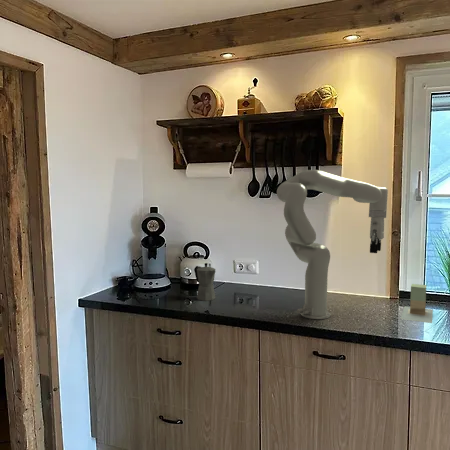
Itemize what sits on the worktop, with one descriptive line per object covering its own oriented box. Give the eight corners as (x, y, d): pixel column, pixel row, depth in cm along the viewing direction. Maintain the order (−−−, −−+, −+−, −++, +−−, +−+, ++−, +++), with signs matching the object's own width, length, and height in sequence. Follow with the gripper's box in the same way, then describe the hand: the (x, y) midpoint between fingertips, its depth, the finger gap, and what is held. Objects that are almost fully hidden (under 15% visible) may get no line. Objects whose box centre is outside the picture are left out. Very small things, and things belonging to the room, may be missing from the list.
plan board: (432, 324, 181) (432, 323, 181) (400, 320, 186) (400, 319, 186) (432, 310, 201) (432, 309, 201) (404, 307, 206) (404, 306, 206)
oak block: (424, 315, 192) (425, 301, 192) (409, 313, 195) (410, 299, 194) (425, 311, 198) (425, 298, 197) (410, 309, 200) (411, 296, 200)
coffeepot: (221, 299, 220) (222, 263, 218) (207, 302, 214) (207, 266, 212) (201, 293, 231) (201, 259, 230) (187, 296, 225) (187, 261, 223)
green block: (425, 301, 192) (425, 287, 191) (410, 299, 194) (410, 286, 194) (425, 298, 197) (426, 285, 197) (411, 296, 200) (411, 283, 199)
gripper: (383, 215, 191) (381, 254, 192) (388, 214, 206) (386, 250, 207) (365, 214, 194) (363, 253, 196) (372, 213, 209) (369, 249, 211)
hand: (375, 251), depth 201 cm, fingers open, 9 cm apart
